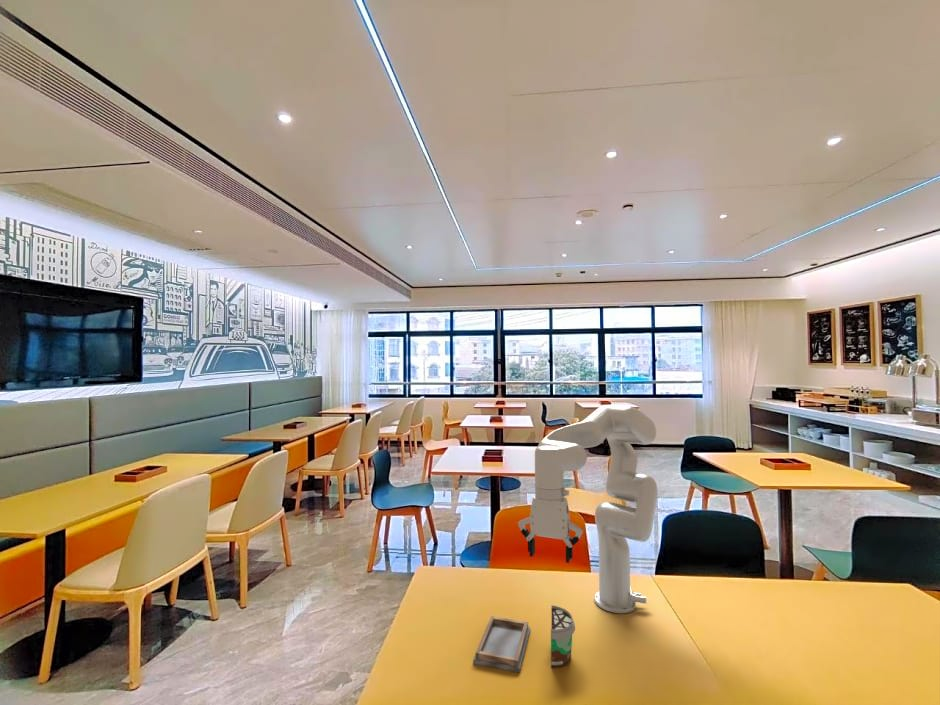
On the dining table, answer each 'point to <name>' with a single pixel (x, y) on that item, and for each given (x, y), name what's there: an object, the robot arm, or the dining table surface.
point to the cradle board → (503, 644)
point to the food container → (561, 637)
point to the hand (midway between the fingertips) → (550, 557)
